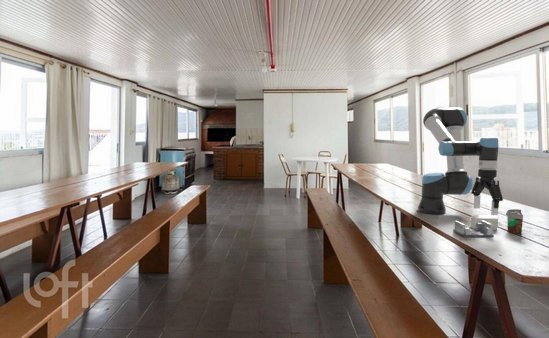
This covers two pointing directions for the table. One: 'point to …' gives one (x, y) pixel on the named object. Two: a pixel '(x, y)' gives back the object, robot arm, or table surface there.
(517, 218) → the food container
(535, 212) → the table surface
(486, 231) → the mount
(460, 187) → the robot arm
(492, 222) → the cream rectangular block
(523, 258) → the table surface
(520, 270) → the table surface
